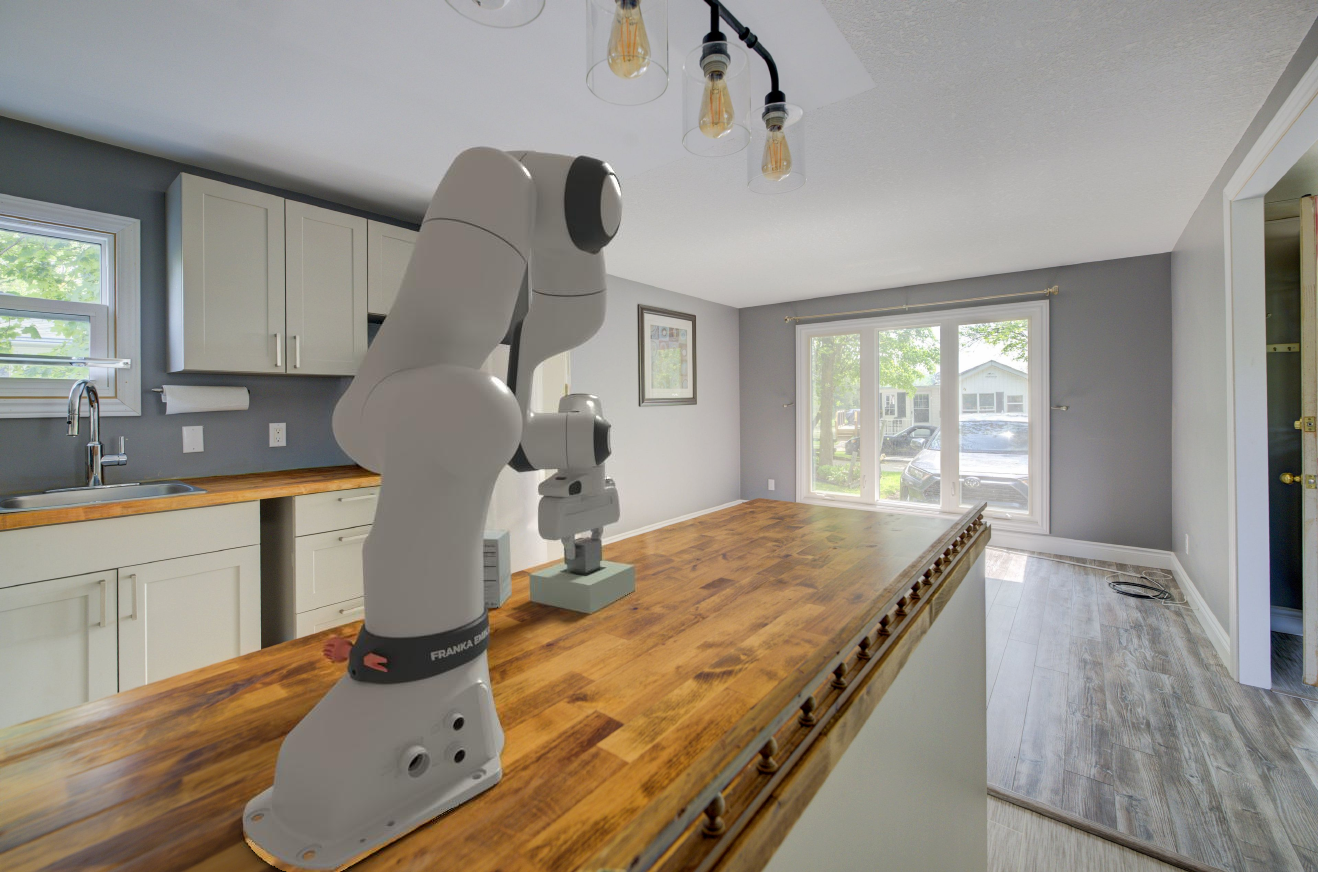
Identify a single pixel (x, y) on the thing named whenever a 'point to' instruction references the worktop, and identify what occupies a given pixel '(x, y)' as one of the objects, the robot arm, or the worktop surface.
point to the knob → (585, 557)
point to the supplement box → (496, 567)
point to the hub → (582, 586)
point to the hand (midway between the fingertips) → (583, 554)
